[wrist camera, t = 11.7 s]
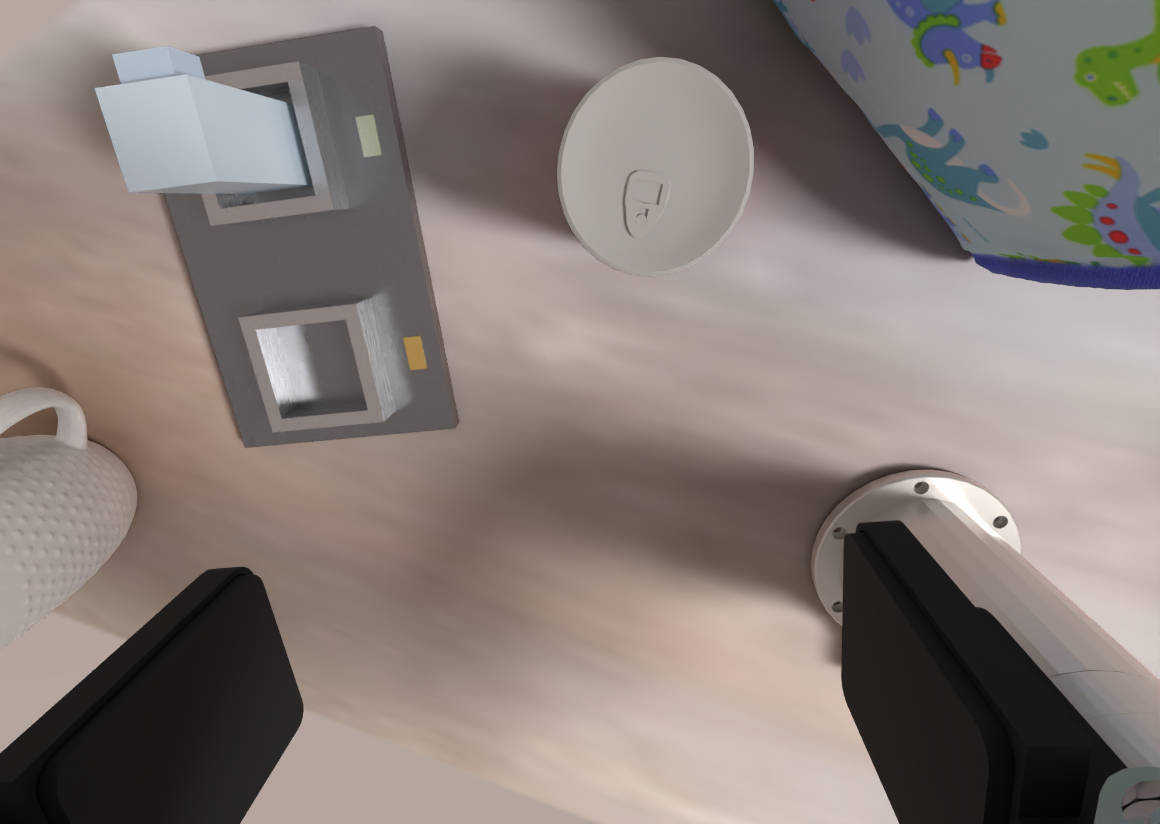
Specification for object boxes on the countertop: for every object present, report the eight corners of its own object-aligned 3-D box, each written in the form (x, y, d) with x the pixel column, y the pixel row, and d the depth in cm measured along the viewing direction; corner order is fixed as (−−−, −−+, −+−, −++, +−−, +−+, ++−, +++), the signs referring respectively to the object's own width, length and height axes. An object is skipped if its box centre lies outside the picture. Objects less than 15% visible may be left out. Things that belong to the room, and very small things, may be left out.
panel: (458, 422, 39) (446, 440, 37) (253, 442, 41) (226, 460, 38) (382, 31, 32) (359, 15, 30) (137, 70, 34) (93, 59, 31)
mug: (31, 328, 39) (-239, 388, 27) (196, 400, 40) (8, 489, 28) (5, 515, 44) (-234, 637, 32) (153, 575, 45) (-24, 717, 33)
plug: (317, 185, 34) (216, 181, 26) (250, 193, 35) (128, 192, 26) (293, 81, 33) (176, 39, 24) (222, 91, 33) (83, 54, 25)
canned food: (580, 259, 36) (563, 284, 25) (570, 106, 33) (545, 64, 23) (715, 250, 35) (754, 272, 25) (715, 93, 32) (759, 44, 22)
